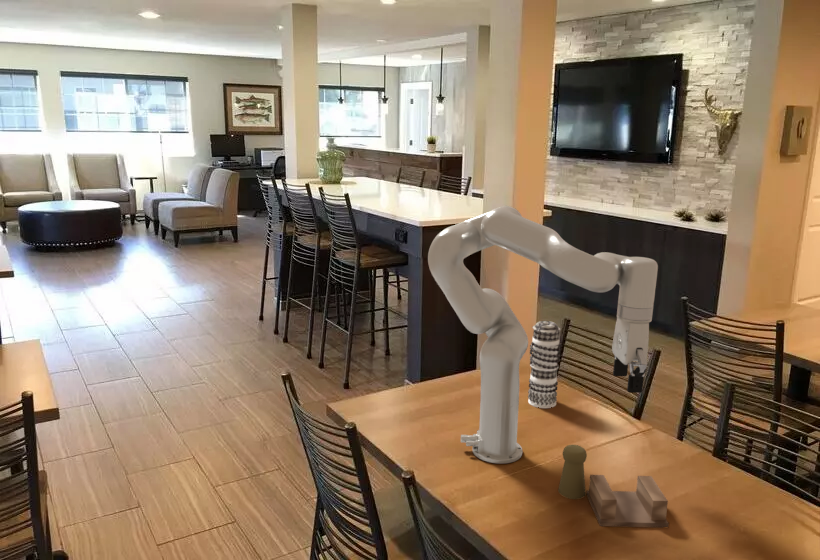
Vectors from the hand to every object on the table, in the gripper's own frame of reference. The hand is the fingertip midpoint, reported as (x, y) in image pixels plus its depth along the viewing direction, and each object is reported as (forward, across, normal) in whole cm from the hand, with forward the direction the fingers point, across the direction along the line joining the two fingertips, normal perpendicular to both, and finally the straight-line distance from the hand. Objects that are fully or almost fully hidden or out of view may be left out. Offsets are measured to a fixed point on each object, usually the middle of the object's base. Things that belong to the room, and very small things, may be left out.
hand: (626, 383), depth 149 cm
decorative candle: (+24, -42, -9) cm, 50 cm away
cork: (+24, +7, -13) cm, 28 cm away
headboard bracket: (+23, +15, -3) cm, 28 cm away
